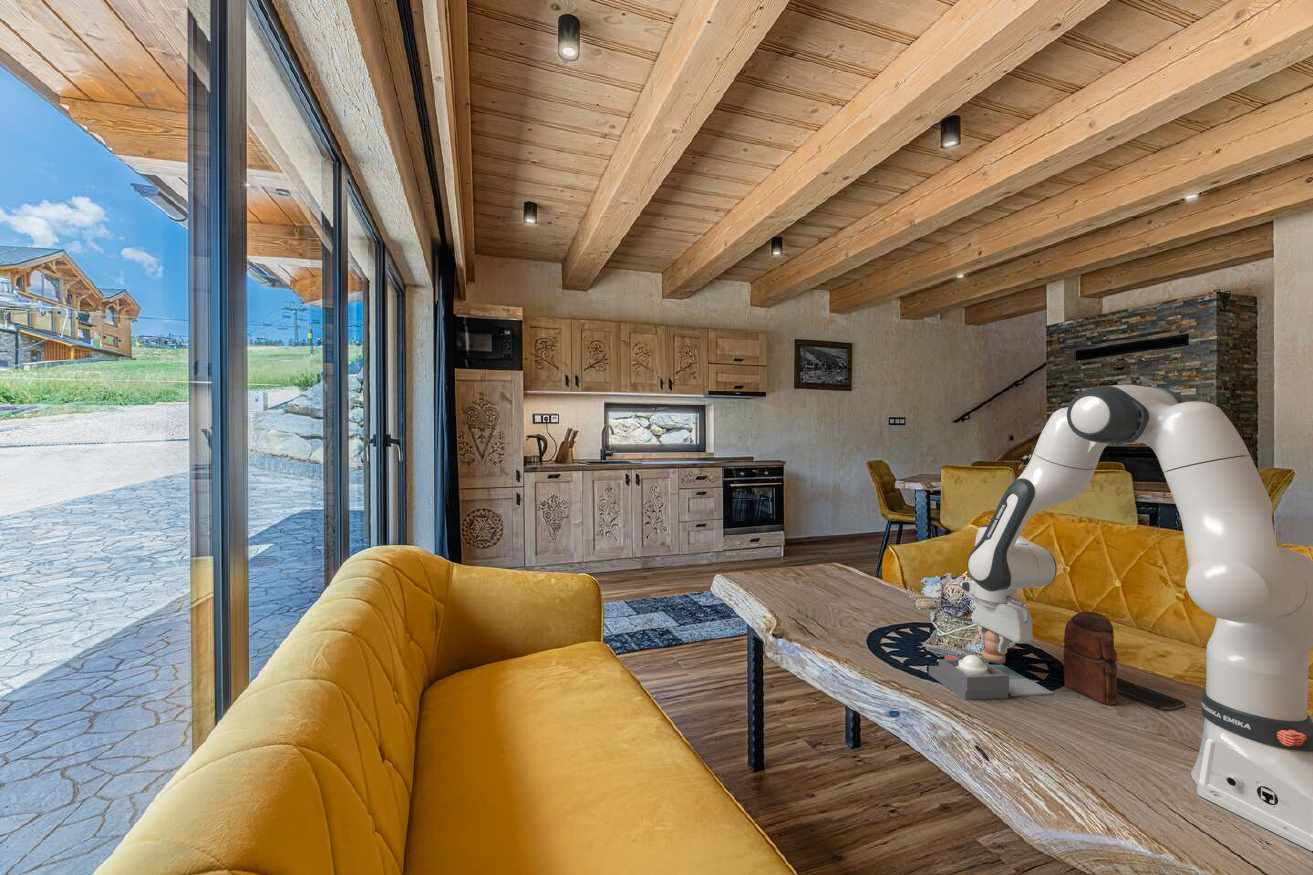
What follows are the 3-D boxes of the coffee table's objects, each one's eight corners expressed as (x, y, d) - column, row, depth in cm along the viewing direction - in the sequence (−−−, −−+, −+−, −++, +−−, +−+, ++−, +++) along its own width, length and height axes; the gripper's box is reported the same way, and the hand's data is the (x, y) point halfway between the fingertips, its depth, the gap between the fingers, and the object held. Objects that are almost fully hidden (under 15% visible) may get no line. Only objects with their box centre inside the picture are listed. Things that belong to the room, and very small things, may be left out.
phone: (1165, 708, 116) (1087, 679, 130) (1165, 714, 116) (1087, 684, 130) (1188, 702, 119) (1109, 674, 133) (1188, 708, 119) (1109, 679, 133)
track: (1053, 694, 124) (1053, 692, 124) (1011, 696, 122) (1011, 694, 122) (1001, 666, 139) (1001, 664, 139) (964, 667, 138) (964, 665, 138)
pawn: (1010, 663, 133) (1010, 633, 133) (991, 663, 132) (992, 633, 132) (995, 655, 137) (995, 626, 138) (977, 655, 137) (977, 626, 137)
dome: (998, 685, 122) (998, 661, 122) (968, 686, 121) (969, 662, 122) (976, 672, 129) (976, 649, 129) (948, 673, 128) (948, 650, 128)
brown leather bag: (1130, 704, 119) (1131, 619, 120) (1106, 707, 118) (1107, 621, 118) (1077, 681, 131) (1078, 603, 131) (1055, 683, 130) (1056, 605, 130)
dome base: (1009, 698, 121) (1009, 675, 121) (966, 700, 120) (966, 677, 120) (967, 673, 134) (968, 652, 134) (928, 674, 133) (929, 653, 133)
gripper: (1041, 603, 125) (1040, 665, 125) (978, 580, 145) (977, 633, 145) (1015, 604, 124) (1014, 666, 124) (955, 580, 144) (954, 634, 144)
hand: (993, 648), depth 135 cm, fingers closed on pawn, 4 cm apart
